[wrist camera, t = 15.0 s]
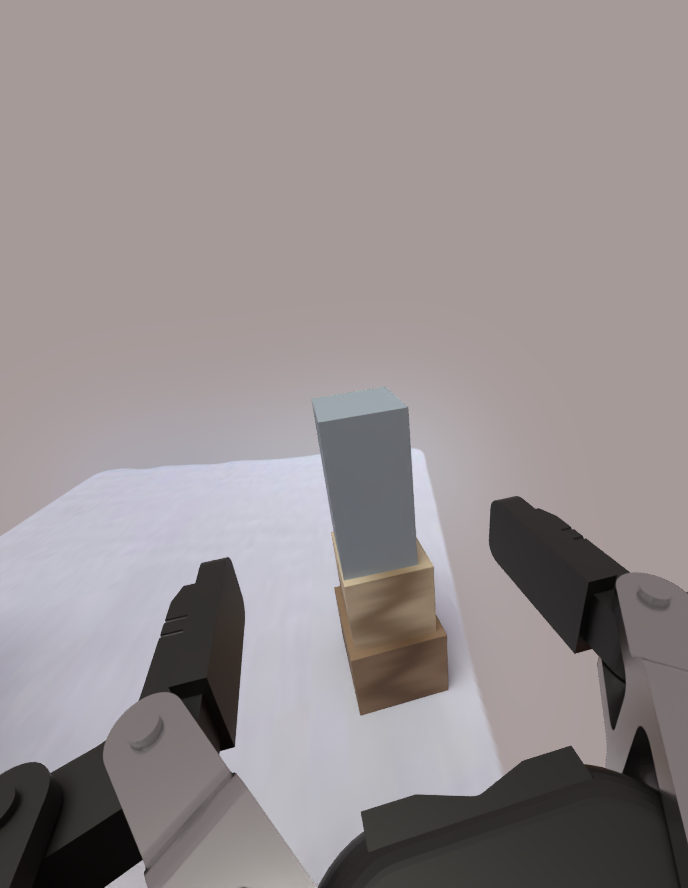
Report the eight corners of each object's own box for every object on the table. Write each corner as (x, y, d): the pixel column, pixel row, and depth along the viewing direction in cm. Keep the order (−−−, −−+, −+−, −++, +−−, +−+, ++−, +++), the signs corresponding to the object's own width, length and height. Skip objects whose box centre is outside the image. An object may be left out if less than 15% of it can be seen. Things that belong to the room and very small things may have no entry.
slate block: (344, 580, 24) (318, 422, 19) (334, 534, 28) (311, 398, 24) (417, 564, 24) (408, 407, 20) (396, 522, 29) (384, 386, 24)
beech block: (354, 652, 25) (344, 587, 23) (341, 589, 31) (331, 532, 29) (436, 631, 26) (433, 566, 24) (408, 574, 32) (404, 516, 29)
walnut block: (360, 715, 27) (351, 661, 25) (343, 636, 34) (334, 587, 31) (448, 690, 28) (446, 635, 26) (415, 618, 34) (411, 568, 32)
